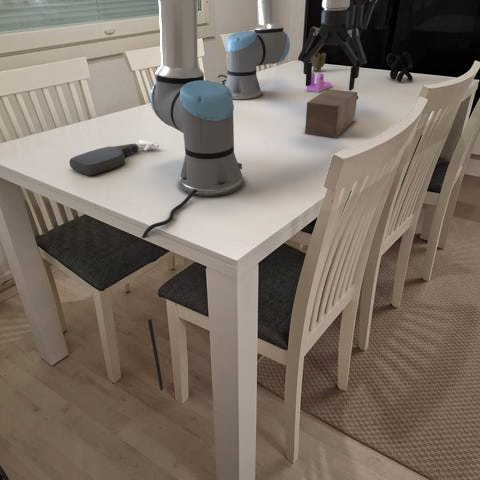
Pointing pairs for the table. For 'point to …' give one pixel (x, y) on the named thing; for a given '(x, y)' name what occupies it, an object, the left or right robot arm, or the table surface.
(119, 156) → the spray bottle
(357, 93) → the drawer
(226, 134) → the left robot arm
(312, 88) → the bracket
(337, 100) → the brown rectangular box
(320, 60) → the olive tapered piece
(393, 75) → the squiggle
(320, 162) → the table surface
